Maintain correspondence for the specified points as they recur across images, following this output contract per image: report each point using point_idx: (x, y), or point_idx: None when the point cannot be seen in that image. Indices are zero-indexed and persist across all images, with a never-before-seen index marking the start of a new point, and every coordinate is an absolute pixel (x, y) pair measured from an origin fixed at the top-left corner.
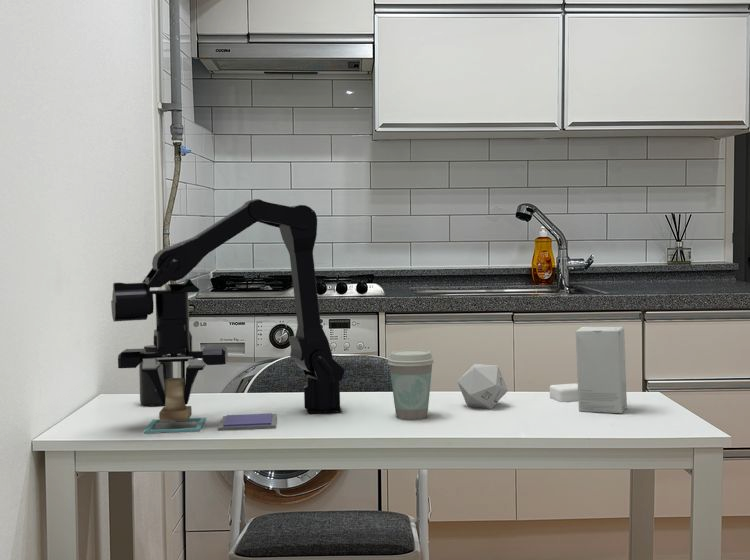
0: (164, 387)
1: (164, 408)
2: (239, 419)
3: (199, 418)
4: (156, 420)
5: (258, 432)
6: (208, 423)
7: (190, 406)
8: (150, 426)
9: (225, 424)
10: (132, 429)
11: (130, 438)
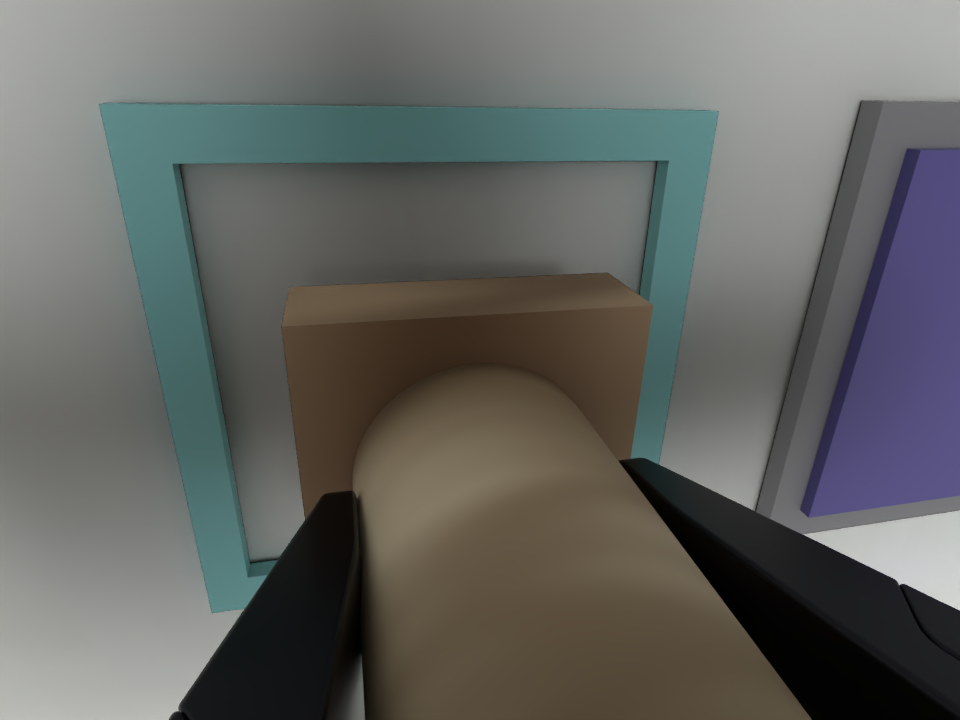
0: (341, 694)
1: (323, 427)
2: (953, 357)
3: (655, 157)
4: (170, 179)
5: (944, 564)
6: (712, 288)
7: (642, 345)
8: (208, 464)
9: (824, 508)
10: (16, 458)
11: (158, 715)
